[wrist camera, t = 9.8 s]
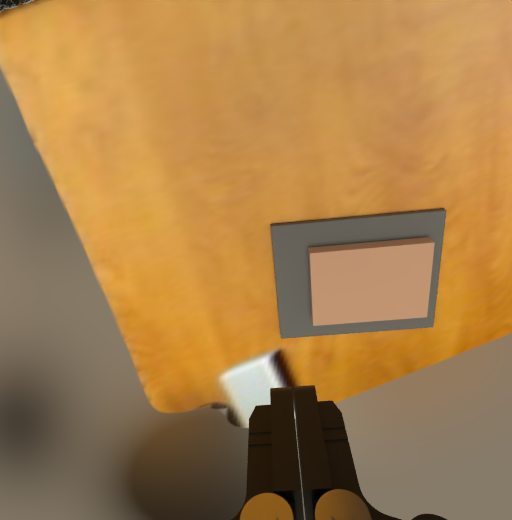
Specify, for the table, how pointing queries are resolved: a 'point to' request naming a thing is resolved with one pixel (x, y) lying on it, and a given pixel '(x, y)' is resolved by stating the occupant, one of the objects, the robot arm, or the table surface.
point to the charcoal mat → (338, 233)
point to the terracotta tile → (370, 281)
